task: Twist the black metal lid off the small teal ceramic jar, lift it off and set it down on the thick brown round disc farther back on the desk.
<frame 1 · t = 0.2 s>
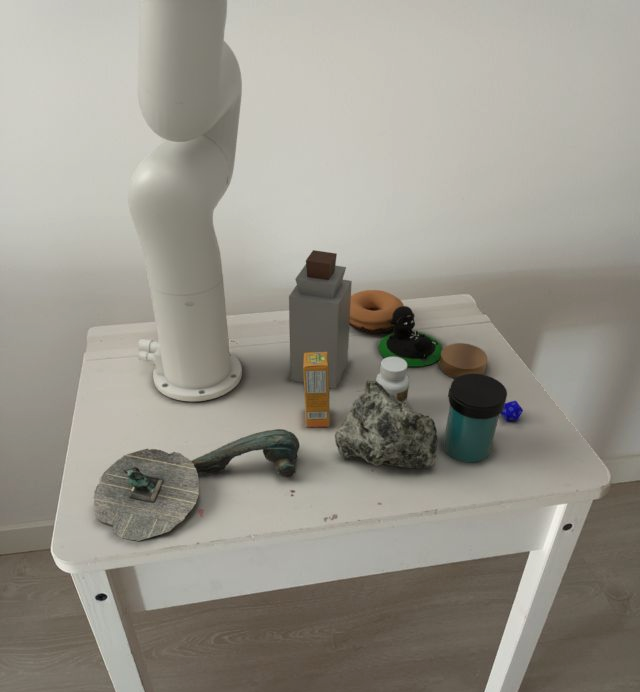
brown round disc: (462, 366, 98), on the table
die: (509, 419, 89), on the table
jar: (466, 446, 84), on the table
perfume bottle: (319, 372, 97), on the table
donut: (373, 299, 105), point 4 cm above the table
lid: (478, 392, 79), point 9 cm above the table, screwed on, not yet turned
sculpture: (131, 513, 77), on the table, touching decorative handle
rock: (382, 456, 83), on the table
toy figurine: (410, 349, 102), on the table
decorative handle: (239, 470, 80), on the table, touching sculpture
pill bottle: (389, 411, 90), on the table
supplement box: (316, 421, 88), on the table
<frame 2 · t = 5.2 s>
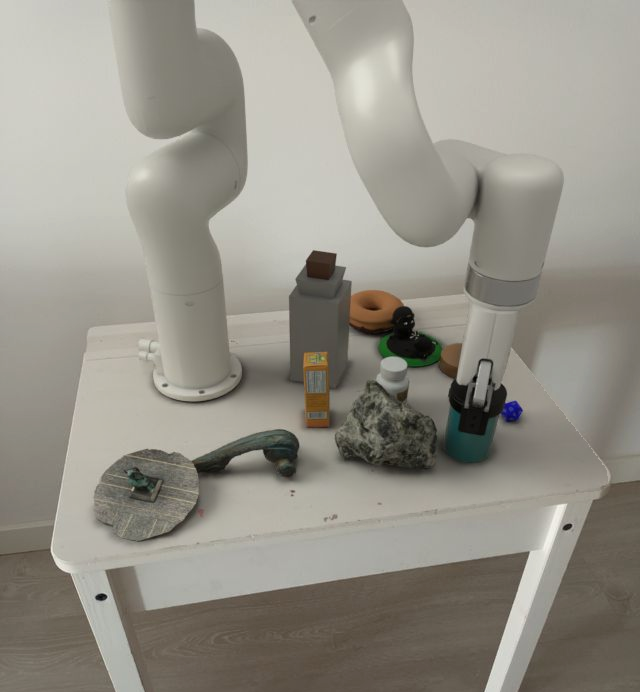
hand: (474, 412, 81), 6 cm above the table, tool pointing down, fingers closed on lid, 6 cm apart
lid: (478, 392, 79), point 9 cm above the table, screwed on, not yet turned, touching gripper
everything else where it was.
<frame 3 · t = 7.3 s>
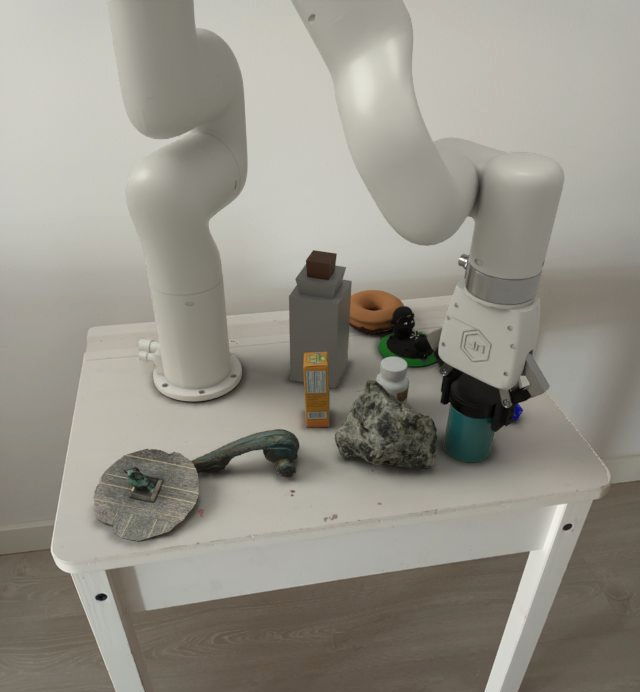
hand: (474, 411, 81), 6 cm above the table, tool pointing down, fingers closed on lid, 6 cm apart
lid: (478, 391, 79), point 9 cm above the table, turned 61° so far, risen 0.2 cm, still on its thread, touching gripper
everything else where it was.
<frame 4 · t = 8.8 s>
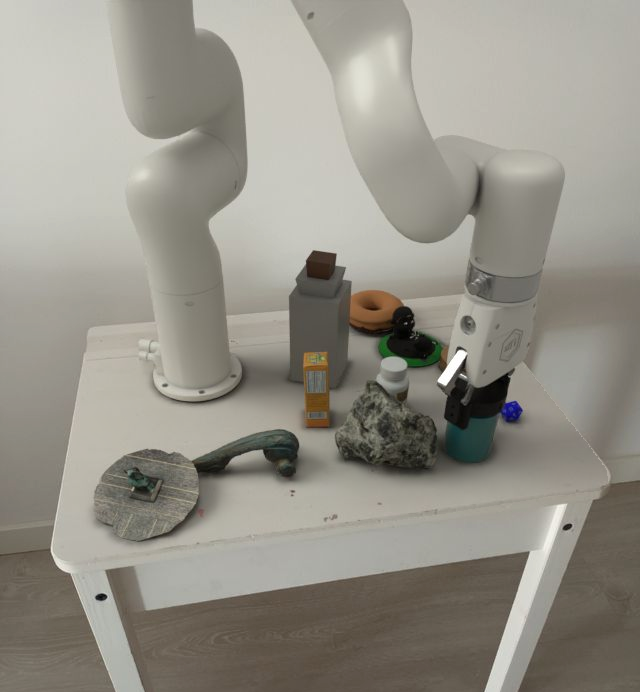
hand: (474, 410, 80), 6 cm above the table, tool pointing down, fingers closed on lid, 6 cm apart
lid: (478, 389, 78), point 9 cm above the table, off its thread, touching gripper
everything else where it was.
when the fingers open (5 cm above the table, at t = 9.8 s): lid stays where it is, resting on jar.
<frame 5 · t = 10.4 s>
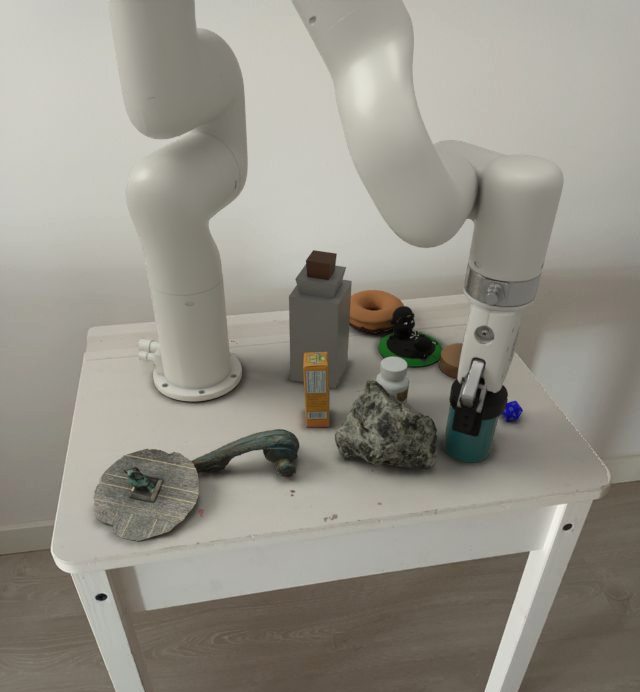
hand: (473, 411, 81), 6 cm above the table, tool pointing down, fingers open, 7 cm apart
jar: (466, 446, 84), on the table, touching lid
lid: (479, 393, 79), point 9 cm above the table, off its thread, touching jar
everything else where it was.
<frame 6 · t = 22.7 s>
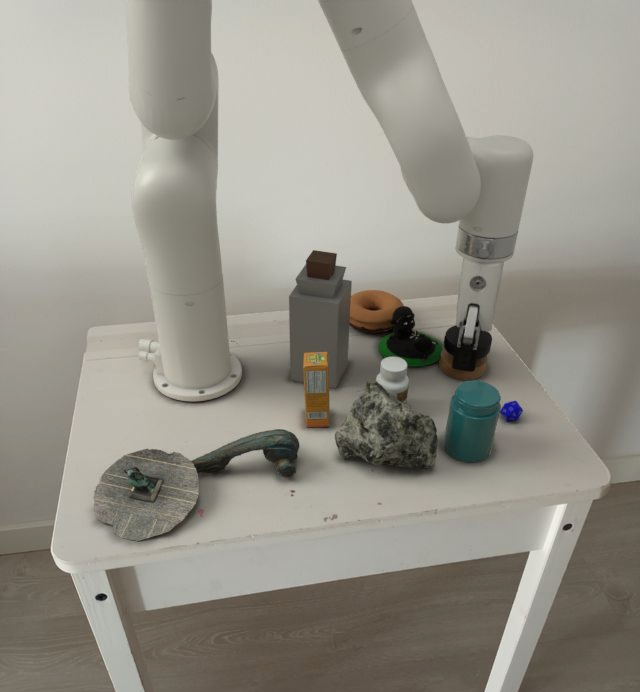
hand: (465, 354, 97), 2 cm above the table, tool pointing down, fingers closed on lid, 6 cm apart
jar: (466, 446, 84), on the table
lid: (468, 338, 95), point 5 cm above the table, off its thread, touching gripper
everything else where it was.
when the fingers open (2 cm above the table, at t = 23.3 s): lid stays where it is, resting on brown round disc.
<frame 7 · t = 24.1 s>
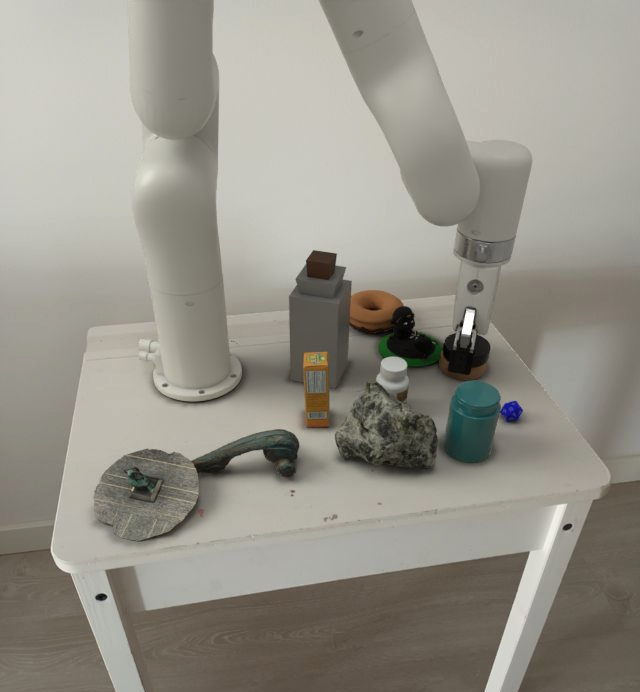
hand: (462, 354, 97), 2 cm above the table, tool pointing down, fingers open, 9 cm apart
lid: (467, 346, 96), point 3 cm above the table, off its thread, touching brown round disc
everything else where it was.
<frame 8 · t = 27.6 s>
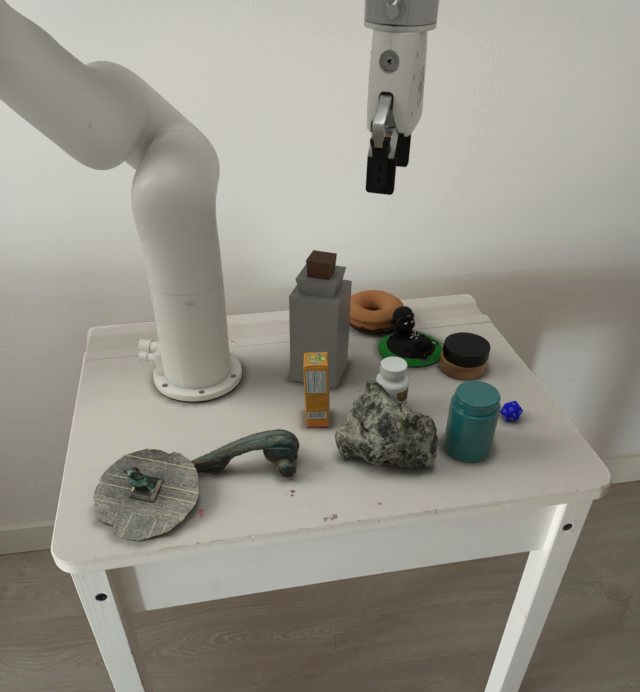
hand: (387, 178, 78), 28 cm above the table, tool pointing down, fingers open, 9 cm apart
nothing on the table moved.
at the end: lid came off its thread; lid 0.3 cm off-centre on the brown round disc, point 3.5 cm above the brown round disc's base; the gripper is holding nothing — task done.
